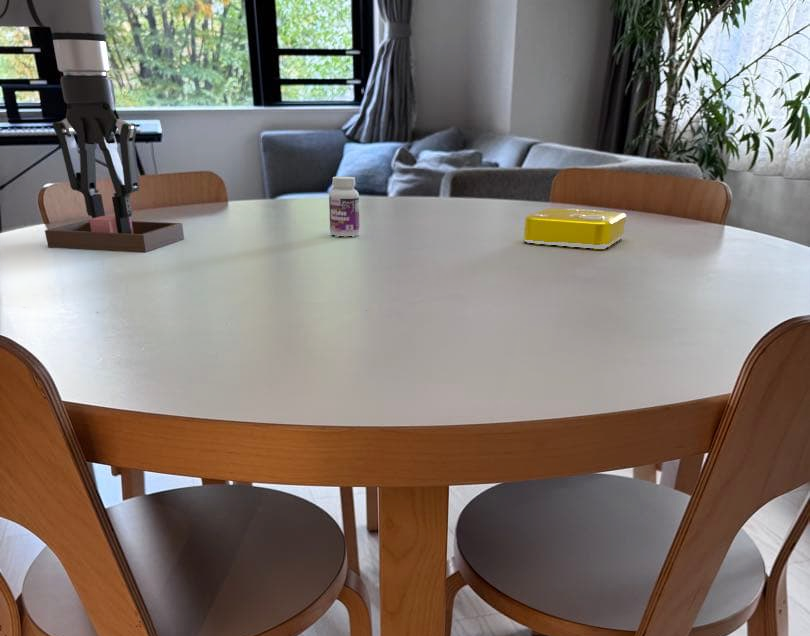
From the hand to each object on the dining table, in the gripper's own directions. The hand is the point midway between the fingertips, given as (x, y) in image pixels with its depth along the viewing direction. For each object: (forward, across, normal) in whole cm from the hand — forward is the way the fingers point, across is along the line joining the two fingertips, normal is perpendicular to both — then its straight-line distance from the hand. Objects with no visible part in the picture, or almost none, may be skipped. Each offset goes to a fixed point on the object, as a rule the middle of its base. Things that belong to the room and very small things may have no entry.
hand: (113, 237), depth 127 cm
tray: (+1, 0, -1) cm, 1 cm away
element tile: (+1, -76, -24) cm, 80 cm away
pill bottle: (+1, -35, -19) cm, 40 cm away
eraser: (0, 0, 0) cm, 0 cm away
